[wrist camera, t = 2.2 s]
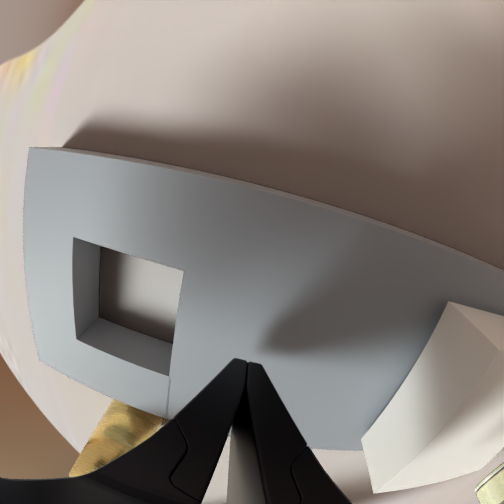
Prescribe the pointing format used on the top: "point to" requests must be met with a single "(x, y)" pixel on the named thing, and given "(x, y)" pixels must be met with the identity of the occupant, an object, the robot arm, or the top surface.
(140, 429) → the pin
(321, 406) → the board
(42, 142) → the top surface
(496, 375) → the cover
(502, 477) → the coffee can
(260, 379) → the robot arm
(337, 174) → the top surface
